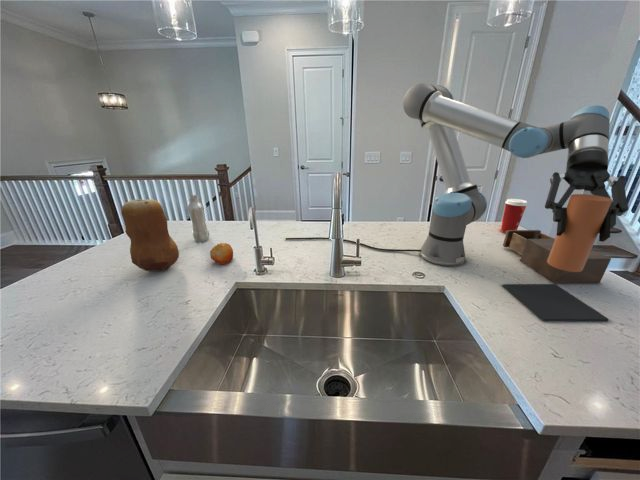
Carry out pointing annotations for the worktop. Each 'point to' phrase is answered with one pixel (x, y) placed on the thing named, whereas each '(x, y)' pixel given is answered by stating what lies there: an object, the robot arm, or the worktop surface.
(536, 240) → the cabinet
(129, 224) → the butternut squash
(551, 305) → the mat
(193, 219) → the plastic bottle
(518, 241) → the drawer
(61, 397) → the worktop surface
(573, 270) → the orange tall cylinder
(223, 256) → the fruit
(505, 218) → the coffee cup
